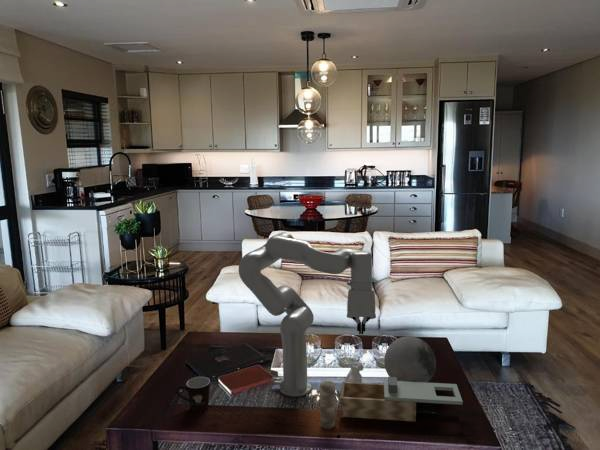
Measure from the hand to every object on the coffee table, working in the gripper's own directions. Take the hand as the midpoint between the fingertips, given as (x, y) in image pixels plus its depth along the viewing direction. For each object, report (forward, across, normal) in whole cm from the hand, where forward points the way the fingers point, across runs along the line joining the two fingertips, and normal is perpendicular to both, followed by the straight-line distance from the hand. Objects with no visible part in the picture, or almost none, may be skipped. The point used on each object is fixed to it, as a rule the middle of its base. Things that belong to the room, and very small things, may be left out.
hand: (361, 332), depth 175 cm
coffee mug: (+27, -61, -11) cm, 68 cm away
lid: (+19, +21, -7) cm, 29 cm away
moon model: (+27, +19, +14) cm, 36 cm away
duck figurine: (+27, -3, +11) cm, 30 cm away
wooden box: (+27, +6, -7) cm, 29 cm away
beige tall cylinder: (+27, -11, -17) cm, 34 cm away
